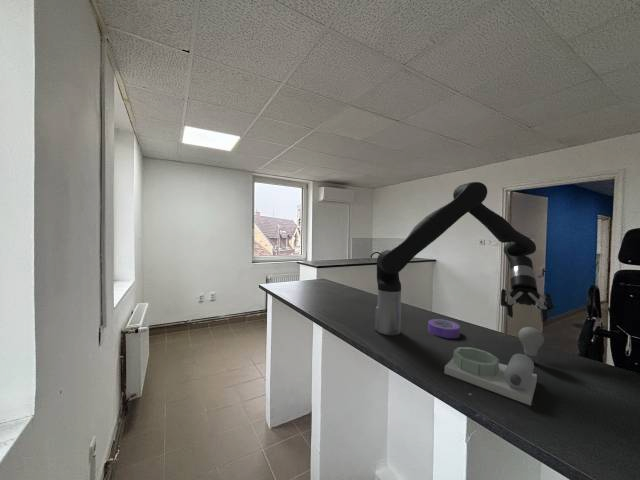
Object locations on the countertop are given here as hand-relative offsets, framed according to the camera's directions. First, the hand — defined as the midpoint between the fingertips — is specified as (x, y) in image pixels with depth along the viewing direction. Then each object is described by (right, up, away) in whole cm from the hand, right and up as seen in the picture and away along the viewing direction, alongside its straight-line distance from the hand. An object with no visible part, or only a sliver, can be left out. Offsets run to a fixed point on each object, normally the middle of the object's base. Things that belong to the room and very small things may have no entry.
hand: (527, 318), depth 85 cm
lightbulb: (-4, -12, -6) cm, 14 cm away
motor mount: (-23, -12, -15) cm, 30 cm away
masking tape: (-20, -12, +18) cm, 29 cm away
